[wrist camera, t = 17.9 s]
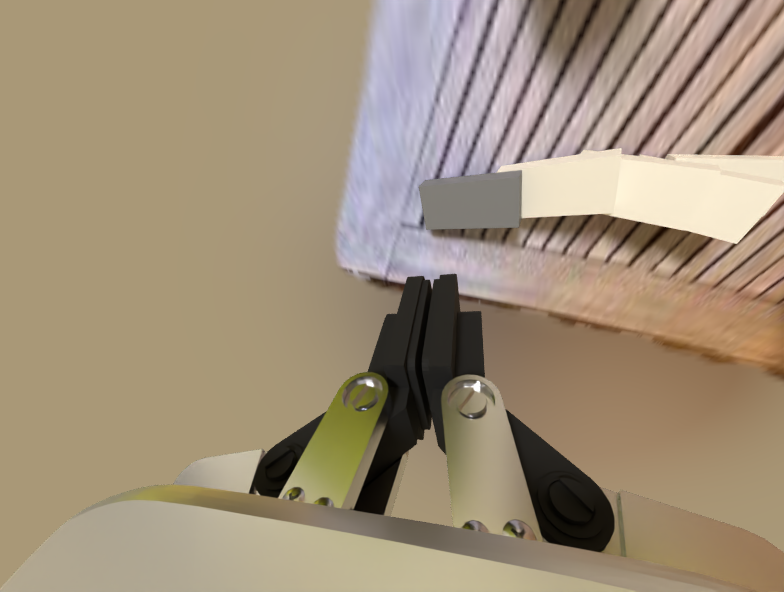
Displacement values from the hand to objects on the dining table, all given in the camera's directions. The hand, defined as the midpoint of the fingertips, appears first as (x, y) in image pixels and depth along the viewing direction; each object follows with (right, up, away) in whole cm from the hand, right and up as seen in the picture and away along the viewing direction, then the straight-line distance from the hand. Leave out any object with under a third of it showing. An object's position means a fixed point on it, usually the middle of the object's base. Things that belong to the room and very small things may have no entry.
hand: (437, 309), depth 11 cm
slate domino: (+2, +11, +24) cm, 26 cm away
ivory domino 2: (+17, +12, +19) cm, 28 cm away
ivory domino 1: (+10, +11, +21) cm, 26 cm away
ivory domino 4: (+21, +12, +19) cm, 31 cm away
